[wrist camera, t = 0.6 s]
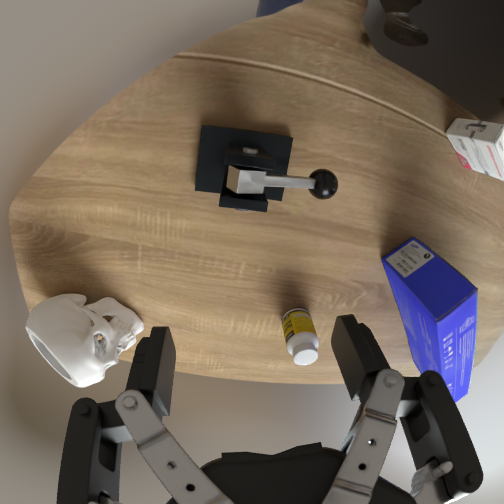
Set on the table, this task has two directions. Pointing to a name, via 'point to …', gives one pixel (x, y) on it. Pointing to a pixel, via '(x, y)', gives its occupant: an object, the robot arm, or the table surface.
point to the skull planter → (82, 335)
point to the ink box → (479, 145)
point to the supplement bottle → (300, 336)
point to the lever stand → (240, 163)
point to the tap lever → (280, 181)
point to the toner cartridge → (435, 312)
